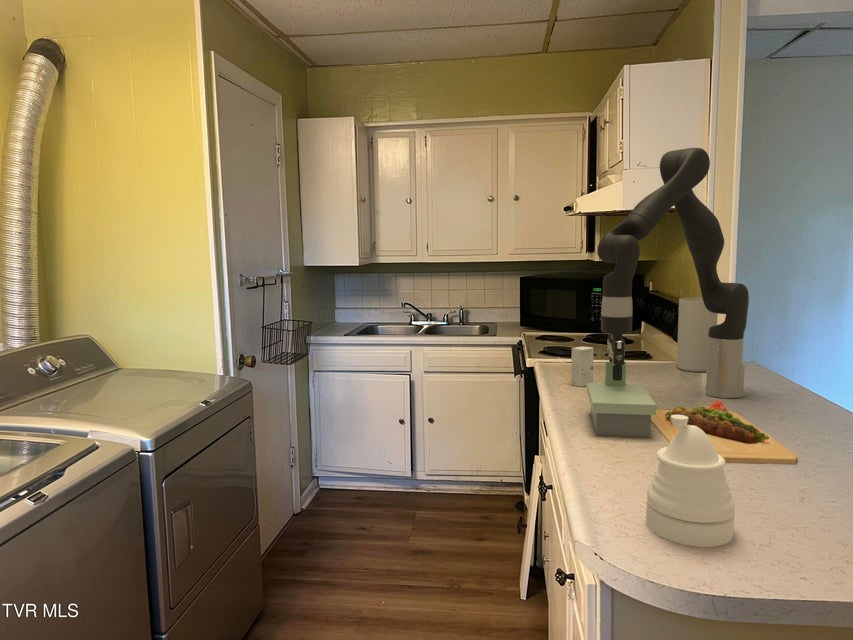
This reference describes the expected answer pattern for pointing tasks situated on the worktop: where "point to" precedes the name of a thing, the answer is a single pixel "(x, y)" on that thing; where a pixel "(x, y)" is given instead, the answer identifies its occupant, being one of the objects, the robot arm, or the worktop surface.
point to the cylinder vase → (693, 334)
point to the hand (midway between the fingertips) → (615, 376)
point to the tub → (621, 424)
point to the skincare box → (582, 366)
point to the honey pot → (690, 491)
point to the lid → (619, 395)
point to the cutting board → (727, 434)
